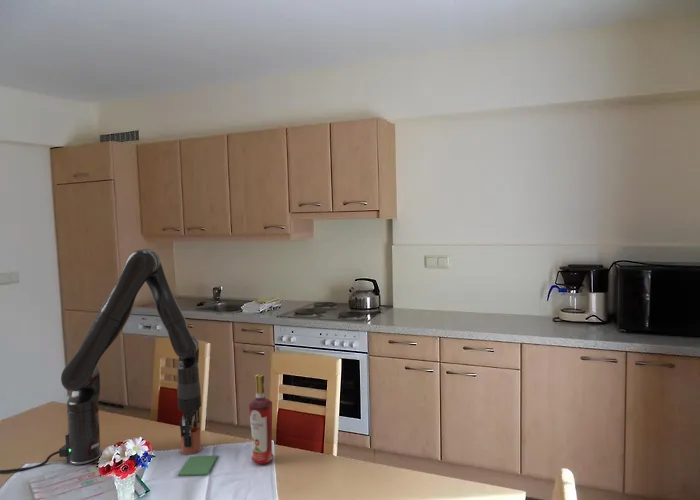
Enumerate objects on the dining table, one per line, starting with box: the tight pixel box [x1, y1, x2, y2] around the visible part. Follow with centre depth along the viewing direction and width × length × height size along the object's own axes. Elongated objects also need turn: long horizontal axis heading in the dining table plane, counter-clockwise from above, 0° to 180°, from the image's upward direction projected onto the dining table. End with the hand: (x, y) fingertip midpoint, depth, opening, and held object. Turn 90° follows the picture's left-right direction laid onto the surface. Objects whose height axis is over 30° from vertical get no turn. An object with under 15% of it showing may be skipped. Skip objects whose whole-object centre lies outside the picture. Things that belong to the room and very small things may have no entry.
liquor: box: [248, 373, 274, 465], centre depth 159 cm, size 7×7×28 cm
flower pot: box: [180, 426, 202, 455], centre depth 169 cm, size 6×6×7 cm
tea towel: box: [177, 455, 219, 477], centre depth 158 cm, size 9×12×1 cm
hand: (191, 442), depth 169 cm, fingers closed on flower pot, 6 cm apart
